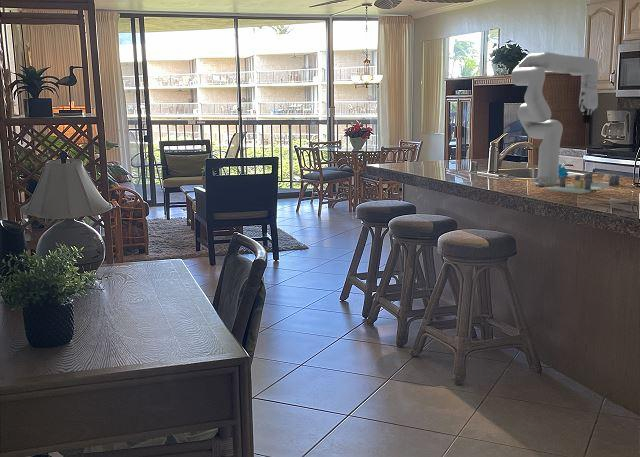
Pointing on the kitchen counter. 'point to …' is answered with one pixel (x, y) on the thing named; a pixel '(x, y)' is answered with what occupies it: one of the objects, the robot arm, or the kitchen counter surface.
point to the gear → (562, 171)
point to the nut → (579, 184)
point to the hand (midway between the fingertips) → (586, 122)
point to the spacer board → (588, 184)
